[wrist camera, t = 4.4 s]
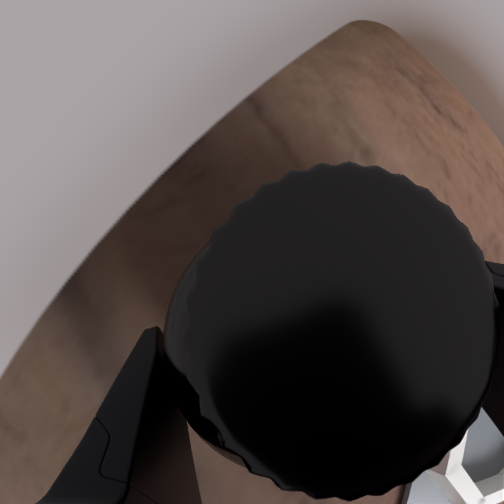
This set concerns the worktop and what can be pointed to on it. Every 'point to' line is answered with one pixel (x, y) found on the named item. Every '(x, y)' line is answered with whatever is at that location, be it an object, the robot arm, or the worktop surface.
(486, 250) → the worktop surface
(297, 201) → the supplement bottle
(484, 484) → the collar seat
